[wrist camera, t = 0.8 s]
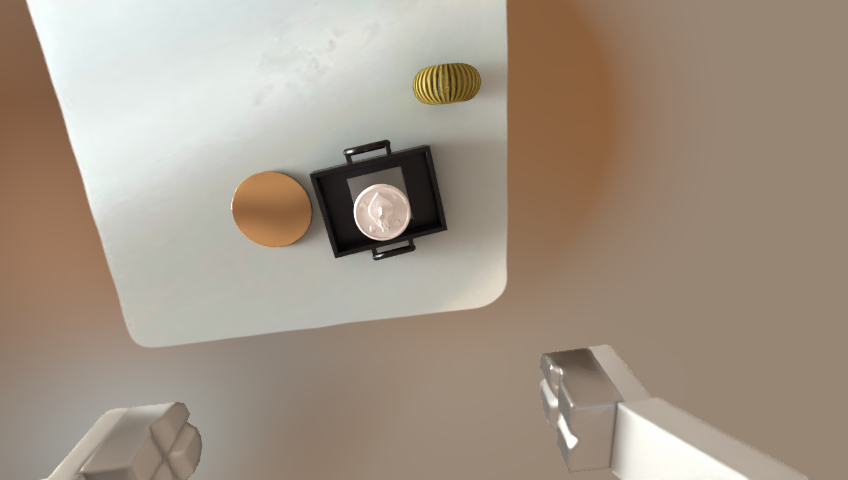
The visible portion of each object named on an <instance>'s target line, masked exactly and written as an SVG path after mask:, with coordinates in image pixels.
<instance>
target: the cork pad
mask: <svg viewBox="0 0 848 480" xmlns="http://www.w3.org/2000/svg"><path fill="white" fill-rule="evenodd" d="M232 214H233V217H234V220H235V223H236V225H237V226H238V228H239V229H240V231H241V232H242V233H243V234H244V235H245V236H246V237H247V238H249V239H250V240H252V241H253V242H255V243H257V244H260V245H263V246H268V247H282V246H286V245H289V244H292V243H294V242H295V241H297V240H298V239H299V238H301V237H302V236H303V235H304V233H305V232H306V231H307V229H308V227H309V225H310V222H311V219H312V205H311V201H310V198H309V196H308V194H307V192H306V191H305V189H304V188H303V187H302V186H301V184H300V183H298V182H297V181H296V180H295V179H293V178H291V177H290V176H288V175H285V174H282V173H278V172H261V173H257V174H254V175H252V176H250V177H248V178H247V179H245V180H244V181H243V182H242V183H241V184H240V185H239V186H238V188H237V189H236V191H235V193H234V196H233V200H232Z"/></svg>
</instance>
